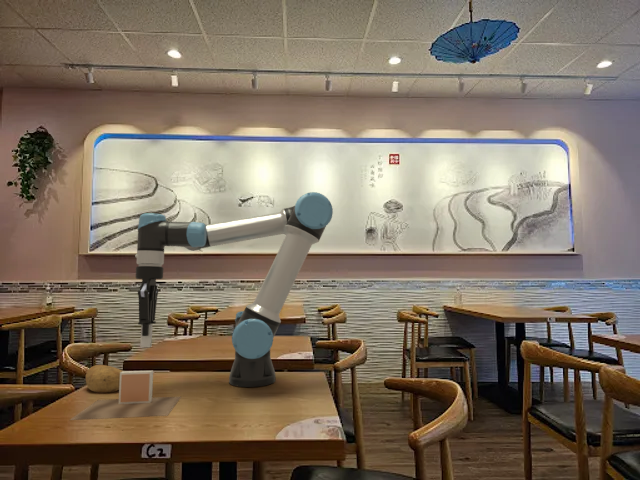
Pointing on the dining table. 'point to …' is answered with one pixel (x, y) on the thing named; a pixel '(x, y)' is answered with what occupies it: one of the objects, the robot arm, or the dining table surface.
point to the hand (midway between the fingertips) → (145, 346)
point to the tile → (135, 387)
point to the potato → (103, 378)
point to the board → (127, 409)
